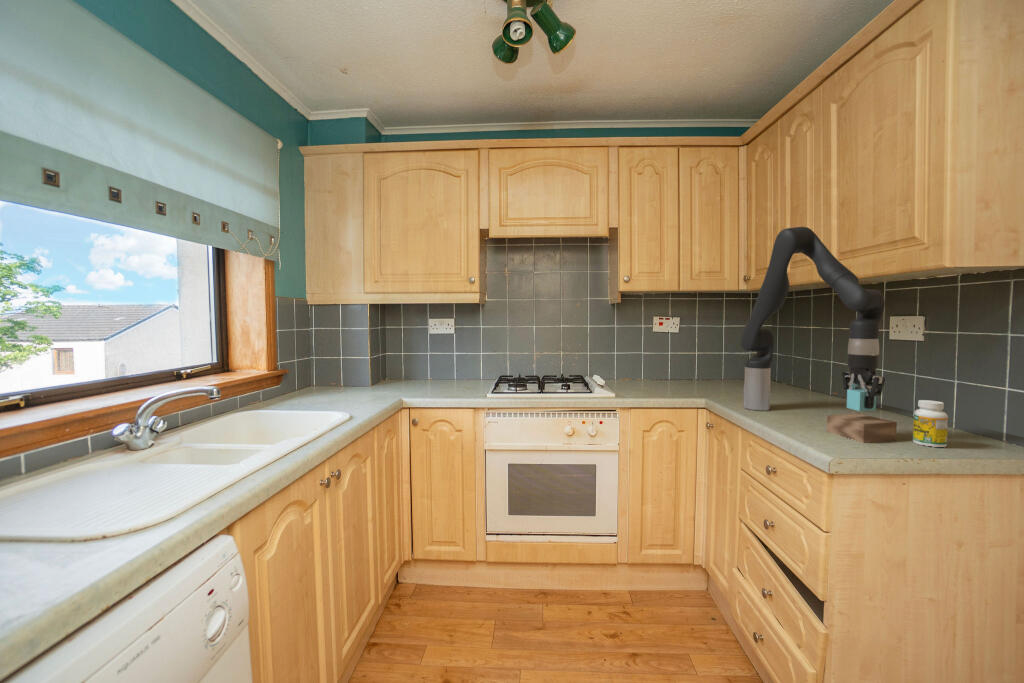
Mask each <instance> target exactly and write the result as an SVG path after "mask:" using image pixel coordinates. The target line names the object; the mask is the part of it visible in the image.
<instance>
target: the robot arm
mask: <svg viewBox="0 0 1024 683" xmlns="http://www.w3.org/2000/svg"><path fill="white" fill-rule="evenodd" d="M794 254H803V255H805V256H806V257H808V258H809V259H810V260H811V261H812V263H814V265H815V269H816V271H817V274H818V275H819V277H820V278H821V280H822V281H823V282H824V283H825V284H826V285H827V286H829V287H830V288H831V289H832V290H833V291H834V292H836V294H837V297H838V298H839V299H840V300H841V302H842V304H844V306H846V307H847V308H848V309H849V310H850V311H853V312H856V313H857V315H856V318H855V319H854V320H852V321H851V322H850V323H849V336H848V344H847V363H846V364H847V365H846V366H847V367H848V368H849V371H842V372H841V378H842V384H843V390H844V391H847V389H863V390H864V392H865V402H864V407H865V408H867V409H872V408H873V406H874V397H875V396H876V397H878V396H881V395H882V392H883V388H884V384H885V381H886V378H885V377H884V376H879V375H877V373H876V370H877V369H878V368H879V364H880V363H879V362H880V361H879V360H880V343H879V337H880V336H879V335H880V334H879V332H880V331H879V330H880V328H879V326H880V323H881V320H882V317H883V313H884V311H885V303H886V301H885V296H884V294H883V293H882V292H881V291H879V290H876V289H872V288H871V289H867V288H864V287H863V286H862V285H860V284H859V281H860V280H859V278H858V275H856V274H855V273H853V272H852V271H851V270H850V269H848V267H846V265H844V264H843V263H841V262H840V261H839V260H838V259H837V258H836V257H835V256H834V255H833V253H831V251H830V250H829V249H828V248H827V246H826V245H825V244H824V242H822V240H821V239H820V238H819V236H818V235H817V234H816V233H815V232H814V231H813V229H811V228H809V227H807V226H797V227H788V228H787V227H786V228H783V229H782V230H780V232H779V233H778V234H777V235H776V238H775V240H774V243H773V247H772V251H771V256H770V260H769V264H768V267H767V268H766V269H767V270H766V273H765V276H764V279H763V282H762V284H761V285H760V289H759V292H758V295H757V298H756V301H755V304H754V306H753V309H752V311H751V314H750V316H749V318H748V321H747V323H746V324H745V326H744V329H743V330H742V333H741V336H740V346H741V348H742V350H744V351H746V352H747V351H748V352H756V354H754V356H752V357H750V358H747V359H746V360H745V362H744V384H743V408H744V409H748V410H750V411H751V410H752V411H769V410H770V408H771V407H770V406H771V405H770V404H771V402H770V401H771V368H772V367H771V365H772V362H773V359H774V358H773V357H774V345H775V338H774V337H775V336H774V333H773V331H772V330H771V329H769V328H762V327H763V326H764V324H765V323H766V322H767V321H768V320H769V319H770V318H771V317H772V316H774V314H776V313H777V312H778V311H779V310H780V309H781V308H782V307H783V306H784V304H785V301H786V298H788V294H789V292H790V279H789V275H788V268H789V264H790V262H791V259H792V258H793V255H794ZM869 391H870V392H869Z"/></svg>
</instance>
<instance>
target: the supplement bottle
mask: <svg viewBox="0 0 1024 683" xmlns="http://www.w3.org/2000/svg"><path fill="white" fill-rule="evenodd" d="M944 403H945V402H943V401H938V400H937V401H936V400H927V399H919V400H918V402H917V406H918V407H919V408H917V409H915V410H914V411H913V417H912V418H913V420H912V421H913V425H912V427H913V428H912V441H913V443H914V444H916V445H918V444H919V446H922V445H925V446H924V447H928V446H932V447H931V448H935V447H944V448H946V447H947V445H948V444H947V443H948V425H949V415H948V413H946V412H944V411H943V410H944V408H945V404H944Z"/></svg>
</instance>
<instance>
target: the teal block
mask: <svg viewBox="0 0 1024 683" xmlns="http://www.w3.org/2000/svg"><path fill="white" fill-rule="evenodd" d="M869 392H870V390H869ZM864 402H865V392H864V390H863V389H862V388H860V389H847V390H846V409H850V410H854V411H857V412H876V410H877V409H876V408H877V396H875V397H874V406H873V408H872V409H867V408H865V407H864Z"/></svg>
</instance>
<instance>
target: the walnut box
mask: <svg viewBox="0 0 1024 683" xmlns="http://www.w3.org/2000/svg"><path fill="white" fill-rule="evenodd" d="M826 416H827V420H826V433H827V432H830V433H834V434H837V435H840V436H839V437H841V436H843V437H842V438H844V437H846V438H845V439H848V438H849V439H848V440H851V439H853V440H852V441H854V440H856V441H855V442H858V441H859V443H861V442H863V443H862V444H869V443H868V442H872V443H880V442H879V441H885V442H891V441H890V440H896V441H897V426H898V425H897V424H898V423H897V422H896V421H893V420H888V419H885V418H880V417H875V416H870V415H866V414H863V413H862V414H861V413H845V414H829V415H826ZM830 433H829V434H830ZM834 434H833V435H834ZM837 435H836V436H837Z"/></svg>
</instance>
